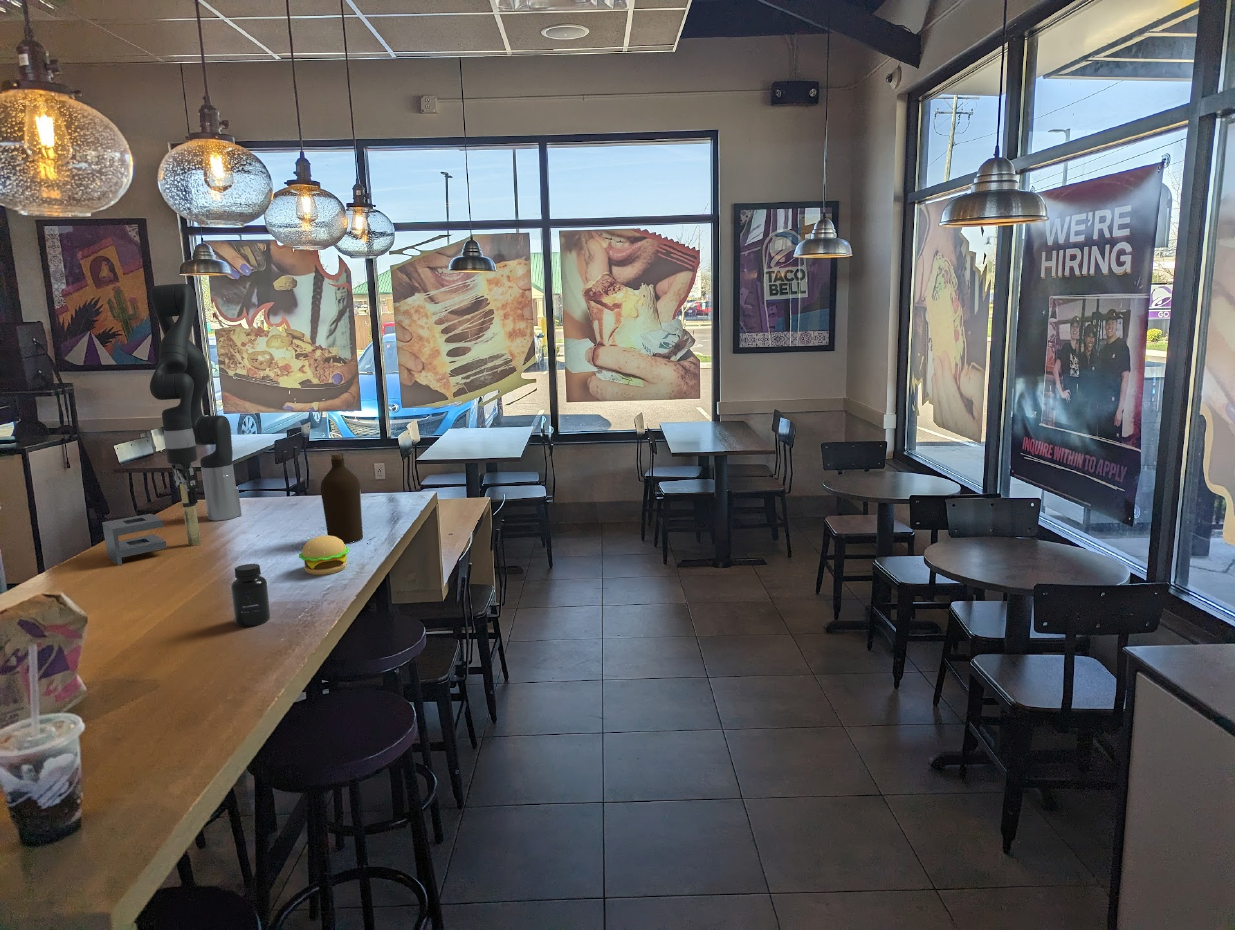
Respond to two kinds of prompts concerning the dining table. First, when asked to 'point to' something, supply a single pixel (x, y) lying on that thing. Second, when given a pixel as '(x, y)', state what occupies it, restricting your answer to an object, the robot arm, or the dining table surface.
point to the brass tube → (190, 518)
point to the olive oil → (342, 502)
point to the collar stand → (133, 545)
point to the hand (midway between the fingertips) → (188, 501)
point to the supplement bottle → (250, 596)
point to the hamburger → (324, 555)
